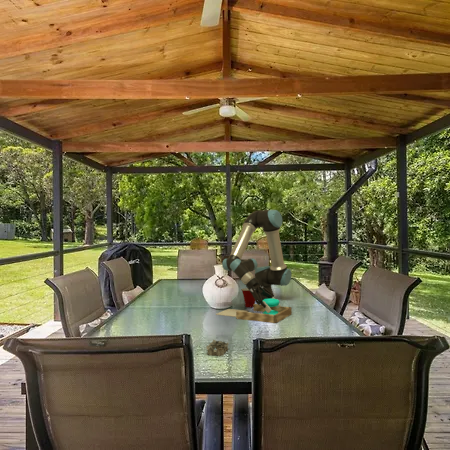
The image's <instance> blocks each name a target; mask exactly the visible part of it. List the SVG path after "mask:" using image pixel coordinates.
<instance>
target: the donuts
mask: <svg viewBox="0 0 450 450" xmlns="http://www.w3.org/2000/svg"><path fill="white" fill-rule="evenodd" d="M263 301H265V303H266V304H267V305H268V306H269V307H275V306H278V305H279V304H280V300H279V299H278V298H275V299H271V298H270V299H264V300H263ZM277 313H279V312H278V311H276V310H271V311H270V312H269V313H267V311H264V312H262V313H261V314H270V315H275V314H277Z"/></svg>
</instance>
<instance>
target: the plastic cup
mask: <svg viewBox="0 0 450 450" xmlns="http://www.w3.org/2000/svg"><path fill="white" fill-rule="evenodd" d="M241 291H242V295H243V300H244V306H245V308H253V304H256V301H255V299H254V297H253V295H252V293H251V292H250V290H249V289H248V288H247V287H245V288H242V289H241Z"/></svg>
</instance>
